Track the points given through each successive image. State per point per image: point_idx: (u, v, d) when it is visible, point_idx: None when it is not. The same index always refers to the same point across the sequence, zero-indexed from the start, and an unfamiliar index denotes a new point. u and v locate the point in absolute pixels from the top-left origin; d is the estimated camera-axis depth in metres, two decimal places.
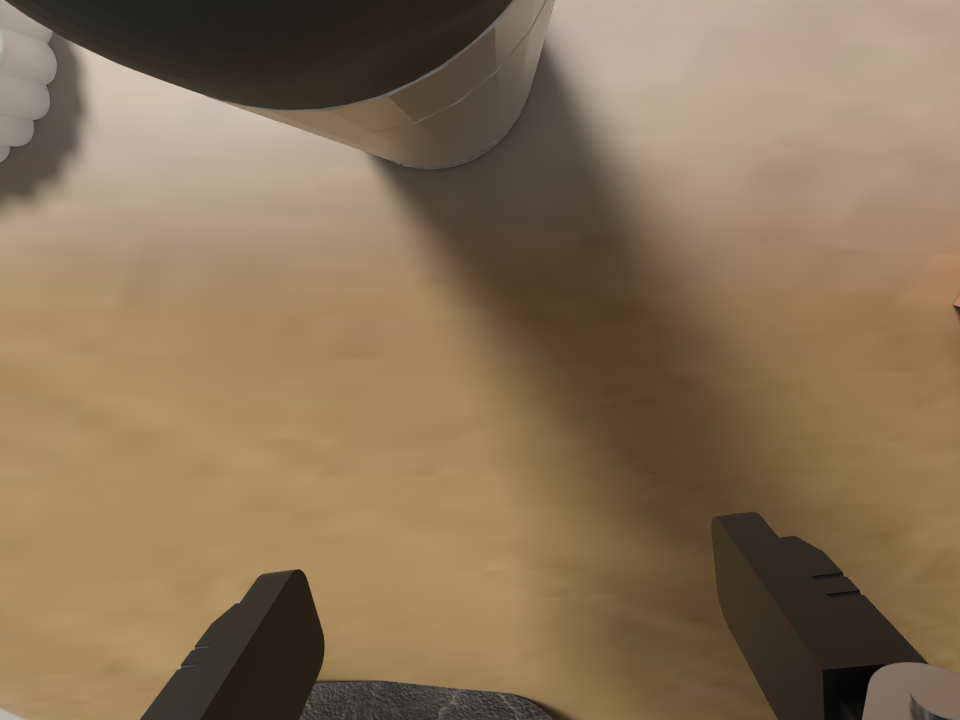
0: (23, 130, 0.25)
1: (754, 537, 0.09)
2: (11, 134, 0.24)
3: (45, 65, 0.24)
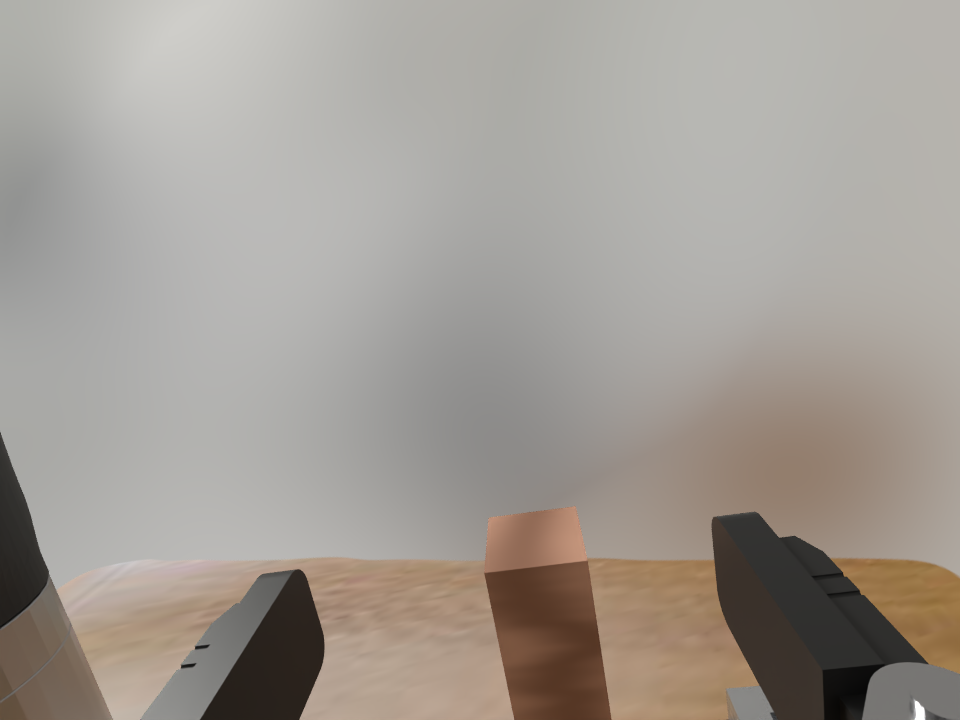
0: None
1: (754, 537, 0.09)
2: None
3: None
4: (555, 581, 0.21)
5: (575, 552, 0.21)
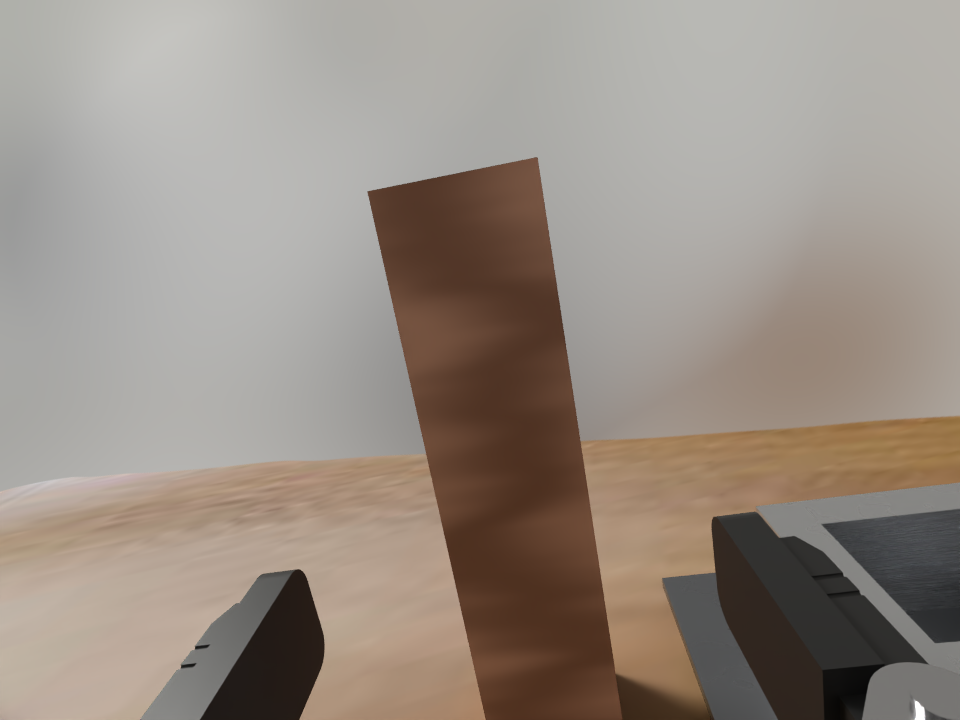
0: None
1: (754, 537, 0.09)
2: None
3: None
4: (484, 202, 0.13)
5: None
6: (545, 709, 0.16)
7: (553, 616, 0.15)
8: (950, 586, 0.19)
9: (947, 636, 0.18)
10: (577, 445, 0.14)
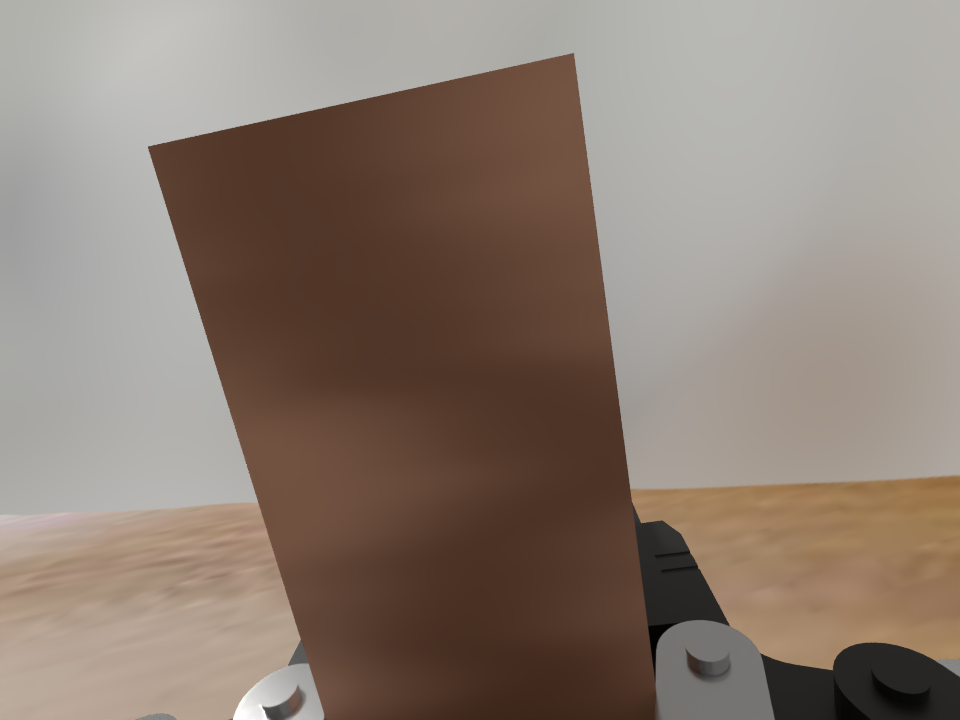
0: None
1: None
2: None
3: None
4: (438, 173, 0.05)
5: None
6: None
7: None
8: None
9: None
10: (650, 710, 0.06)
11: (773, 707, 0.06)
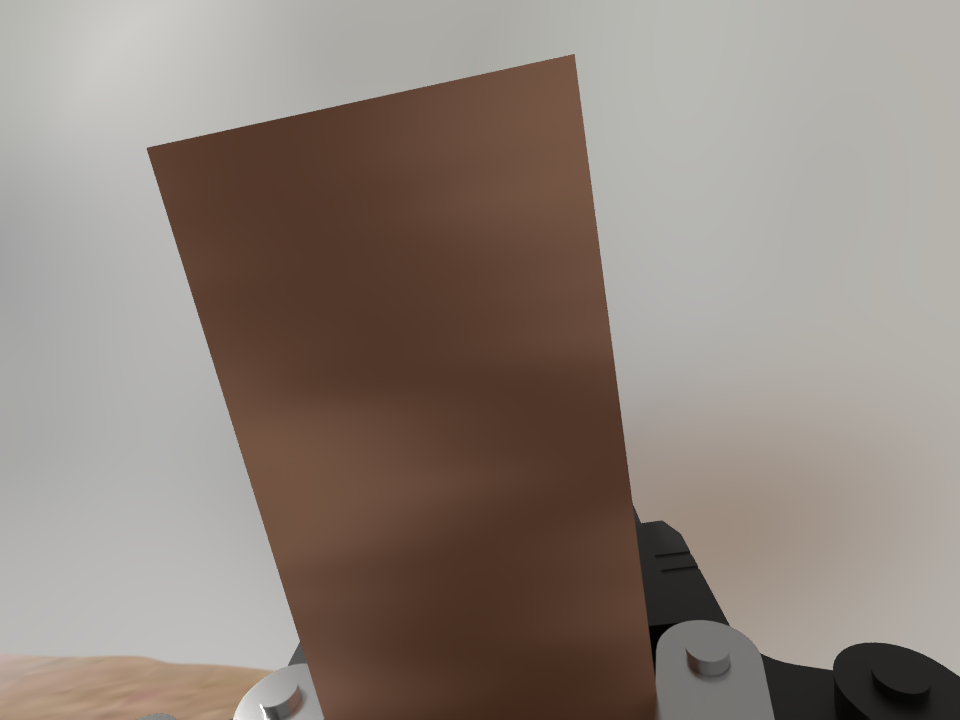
0: None
1: None
2: None
3: None
4: (438, 174, 0.05)
5: None
6: None
7: None
8: None
9: None
10: (651, 714, 0.06)
11: (773, 707, 0.06)
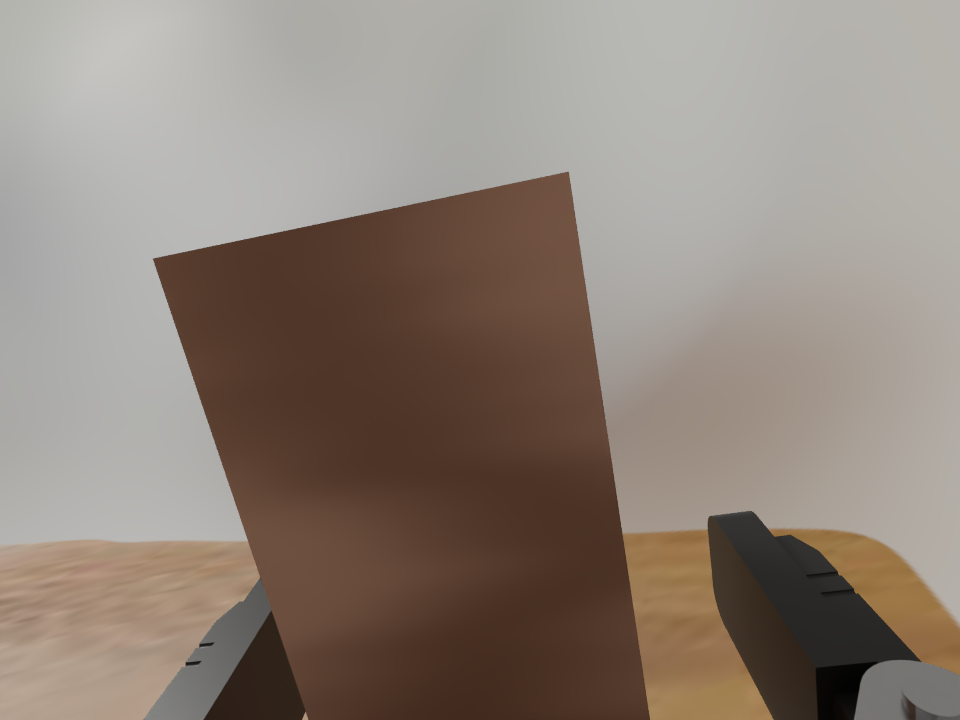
0: None
1: (750, 536, 0.09)
2: None
3: None
4: (437, 283, 0.05)
5: None
6: None
7: None
8: None
9: None
10: None
11: None
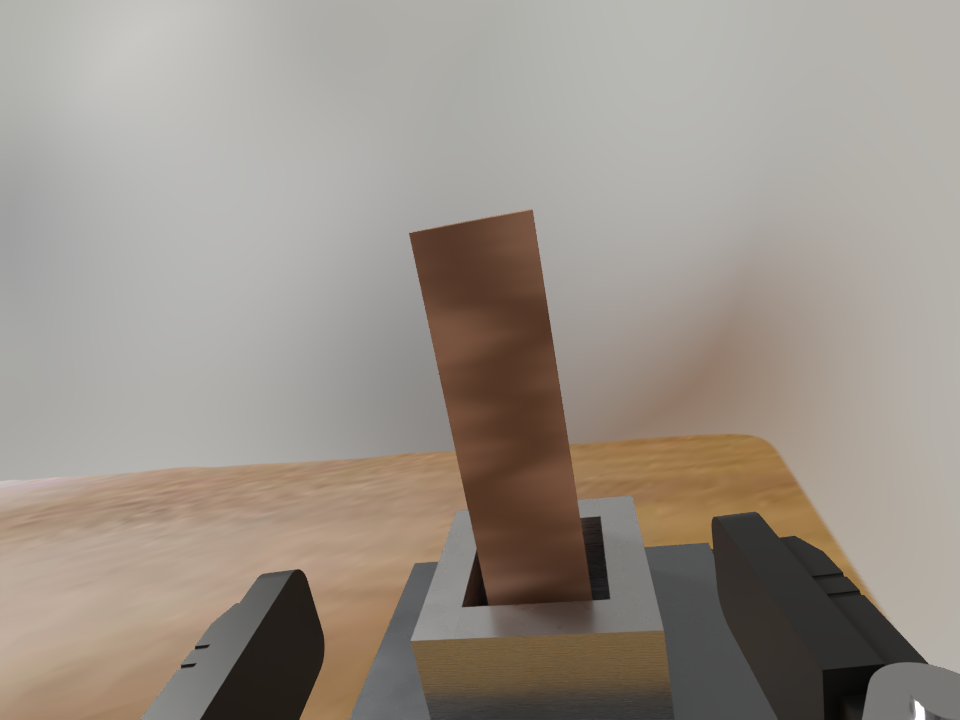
0: None
1: (754, 537, 0.09)
2: None
3: None
4: (494, 241, 0.17)
5: None
6: None
7: (544, 547, 0.20)
8: None
9: None
10: (562, 418, 0.19)
11: None
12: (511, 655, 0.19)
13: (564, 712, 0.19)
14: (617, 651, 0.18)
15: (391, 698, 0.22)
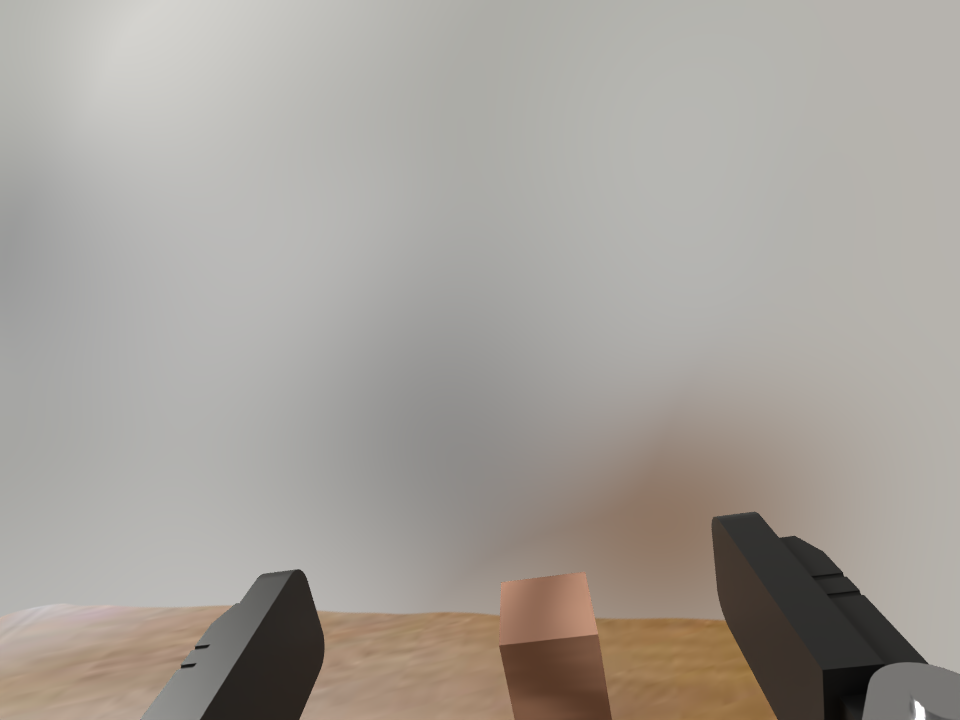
0: None
1: (754, 537, 0.09)
2: None
3: None
4: (567, 653, 0.22)
5: (586, 624, 0.22)
6: None
7: None
8: None
9: None
10: None
11: None
12: None
13: None
14: None
15: None
